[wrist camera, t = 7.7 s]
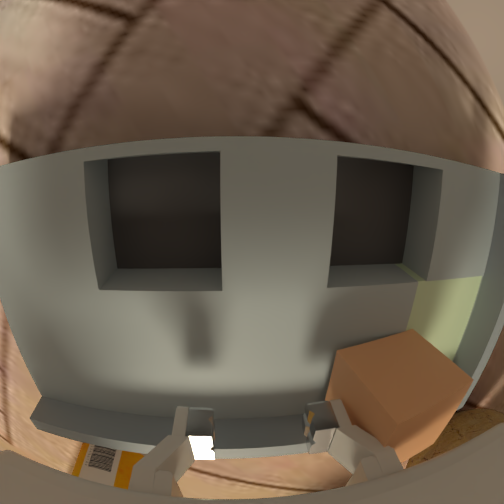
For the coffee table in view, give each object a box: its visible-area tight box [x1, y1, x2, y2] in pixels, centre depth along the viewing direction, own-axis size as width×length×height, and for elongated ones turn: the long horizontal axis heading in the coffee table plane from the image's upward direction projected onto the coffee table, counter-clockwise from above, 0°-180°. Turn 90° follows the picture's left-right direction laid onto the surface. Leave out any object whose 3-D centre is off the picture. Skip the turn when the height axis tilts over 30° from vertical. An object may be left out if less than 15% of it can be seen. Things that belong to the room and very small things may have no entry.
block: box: [325, 329, 473, 463], centre depth 10 cm, size 4×4×4 cm
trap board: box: [0, 136, 504, 459], centre depth 12 cm, size 14×26×4 cm, turn 89°
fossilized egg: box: [406, 409, 504, 468], centre depth 13 cm, size 13×13×15 cm
